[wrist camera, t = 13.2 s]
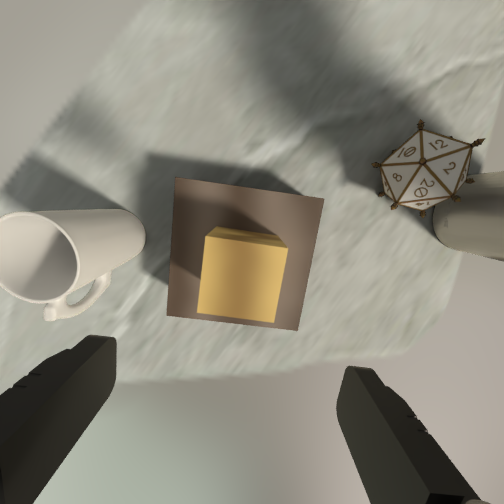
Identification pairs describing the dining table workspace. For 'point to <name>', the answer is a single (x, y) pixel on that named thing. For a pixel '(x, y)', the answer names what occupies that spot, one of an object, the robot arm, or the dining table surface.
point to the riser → (248, 219)
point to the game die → (426, 170)
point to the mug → (65, 254)
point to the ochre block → (241, 274)
